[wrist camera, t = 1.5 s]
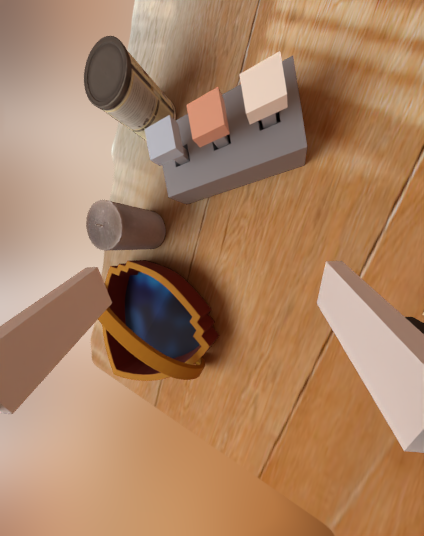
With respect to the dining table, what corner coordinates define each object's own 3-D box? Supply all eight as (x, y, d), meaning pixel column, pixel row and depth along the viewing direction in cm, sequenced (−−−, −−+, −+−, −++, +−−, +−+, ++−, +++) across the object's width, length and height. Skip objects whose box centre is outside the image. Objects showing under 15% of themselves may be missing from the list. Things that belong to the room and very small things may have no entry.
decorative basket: (242, 320, 45) (226, 342, 30) (176, 405, 50) (135, 458, 35) (146, 240, 54) (99, 228, 40) (98, 318, 59) (41, 333, 45)
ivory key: (251, 112, 31) (239, 74, 24) (283, 96, 29) (280, 50, 22) (256, 142, 32) (245, 113, 25) (288, 129, 30) (287, 94, 23)
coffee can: (135, 138, 48) (77, 98, 35) (149, 92, 45) (92, 30, 32) (166, 151, 45) (115, 114, 32) (183, 103, 42) (134, 40, 29)
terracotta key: (207, 133, 35) (186, 104, 28) (233, 120, 33) (218, 86, 26) (212, 160, 35) (192, 139, 28) (239, 150, 33) (224, 124, 26)
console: (176, 148, 44) (156, 131, 37) (292, 91, 34) (293, 55, 27) (186, 204, 44) (168, 197, 38) (304, 165, 34) (307, 146, 28)
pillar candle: (132, 240, 52) (75, 239, 38) (141, 205, 49) (83, 190, 36) (160, 255, 49) (109, 259, 35) (171, 218, 46) (121, 207, 33)
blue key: (171, 150, 38) (144, 129, 31) (193, 140, 36) (169, 114, 29) (176, 175, 38) (150, 160, 31) (198, 166, 36) (175, 147, 29)
